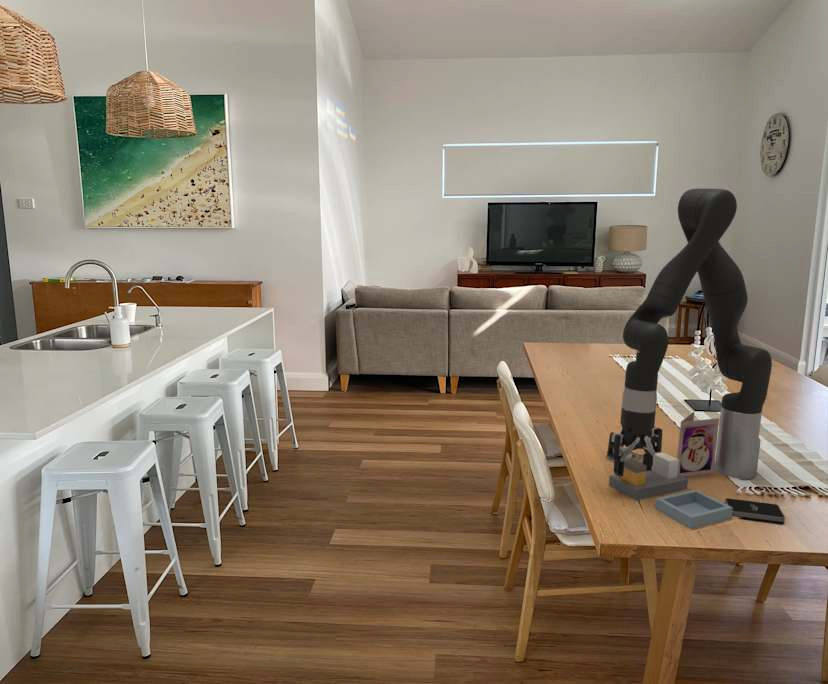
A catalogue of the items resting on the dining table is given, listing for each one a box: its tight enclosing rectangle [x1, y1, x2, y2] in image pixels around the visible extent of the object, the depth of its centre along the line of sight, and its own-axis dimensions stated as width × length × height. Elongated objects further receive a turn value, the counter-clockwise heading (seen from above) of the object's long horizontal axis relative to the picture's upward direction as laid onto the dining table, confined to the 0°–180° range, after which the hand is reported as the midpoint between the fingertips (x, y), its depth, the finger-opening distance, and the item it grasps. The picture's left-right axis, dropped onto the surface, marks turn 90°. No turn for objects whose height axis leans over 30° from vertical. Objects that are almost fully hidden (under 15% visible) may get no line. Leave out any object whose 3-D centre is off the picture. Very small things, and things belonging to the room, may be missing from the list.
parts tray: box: [654, 489, 733, 531], centre depth 141 cm, size 12×10×3 cm
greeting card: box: [676, 411, 720, 477], centre depth 164 cm, size 11×7×15 cm, turn 106°
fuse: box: [652, 452, 679, 480], centre depth 156 cm, size 3×5×7 cm, turn 24°
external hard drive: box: [723, 497, 786, 525], centre depth 142 cm, size 7×11×2 cm, turn 73°
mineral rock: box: [605, 449, 644, 464], centre depth 172 cm, size 11×4×8 cm
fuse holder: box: [608, 468, 689, 501], centre depth 155 cm, size 16×9×3 cm, turn 114°
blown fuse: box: [620, 458, 647, 486], centre depth 152 cm, size 3×5×7 cm, turn 24°
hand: (632, 472), depth 152 cm, fingers open, 8 cm apart
